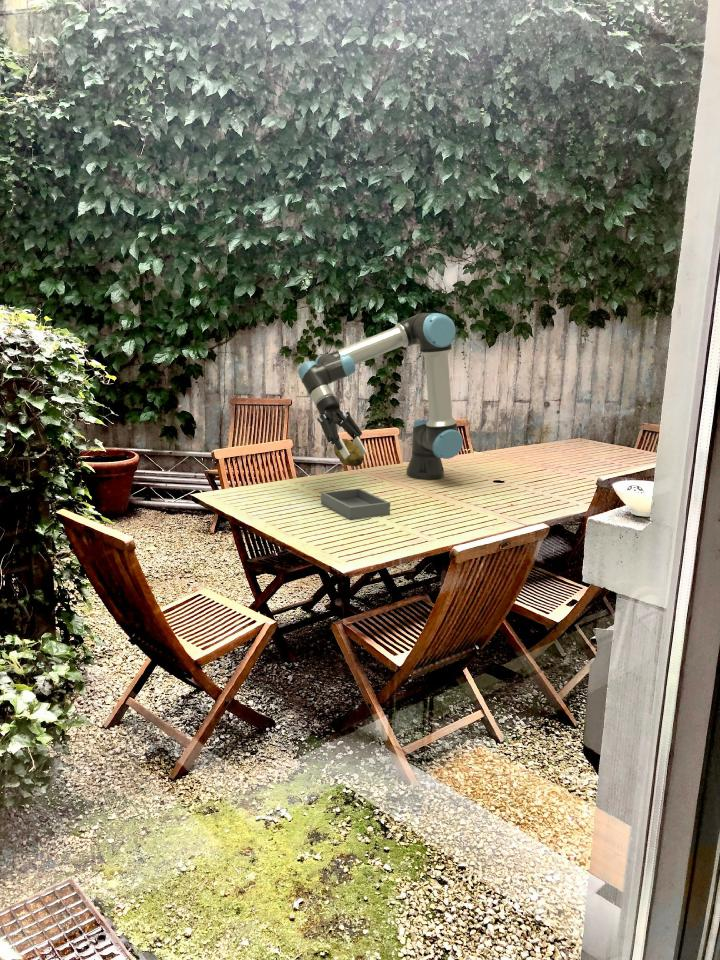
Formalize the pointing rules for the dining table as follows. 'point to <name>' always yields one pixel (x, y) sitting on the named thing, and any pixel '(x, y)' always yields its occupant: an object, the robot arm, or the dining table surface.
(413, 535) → the dining table surface
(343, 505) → the tray
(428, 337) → the robot arm
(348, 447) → the potato
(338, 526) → the dining table surface
